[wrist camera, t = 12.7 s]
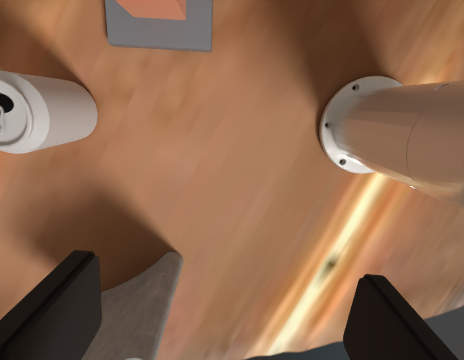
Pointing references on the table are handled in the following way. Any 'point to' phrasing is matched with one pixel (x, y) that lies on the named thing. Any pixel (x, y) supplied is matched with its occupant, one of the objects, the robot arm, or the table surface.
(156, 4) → the salmon pink cube
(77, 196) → the table surface
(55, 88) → the can
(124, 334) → the hip flask
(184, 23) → the post base
